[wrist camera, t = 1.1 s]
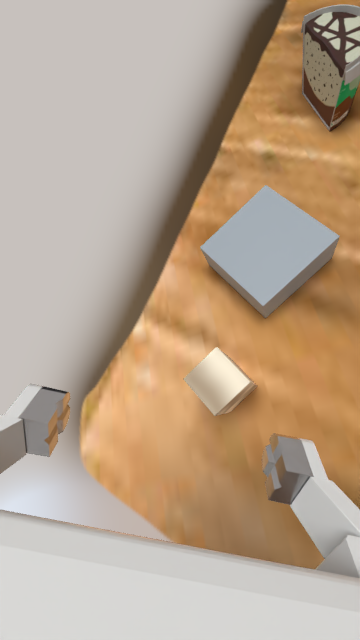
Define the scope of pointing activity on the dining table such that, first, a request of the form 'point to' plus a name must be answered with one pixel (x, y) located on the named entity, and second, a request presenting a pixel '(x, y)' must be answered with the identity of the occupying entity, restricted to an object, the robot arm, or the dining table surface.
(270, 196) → the slate block
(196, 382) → the birch block
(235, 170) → the dining table surface
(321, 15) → the food container
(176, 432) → the dining table surface
